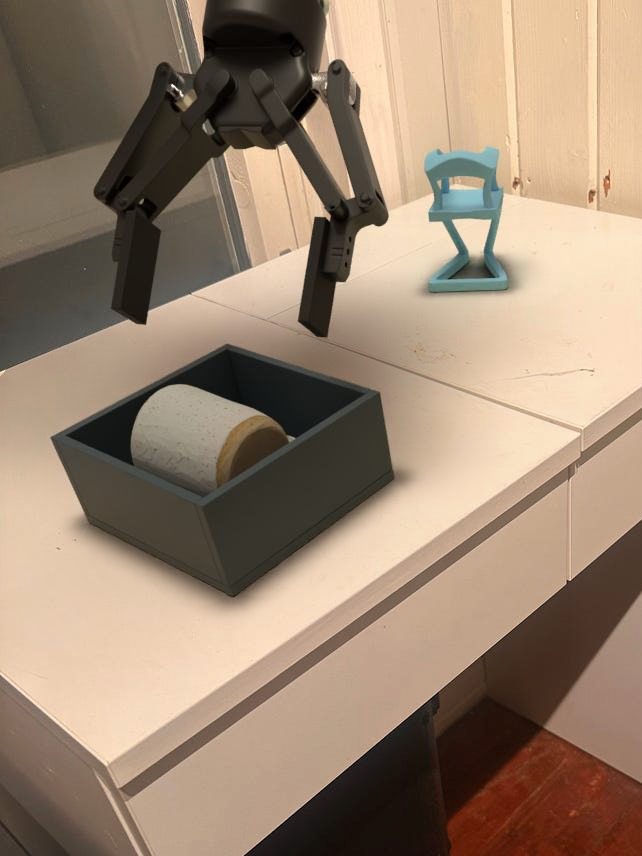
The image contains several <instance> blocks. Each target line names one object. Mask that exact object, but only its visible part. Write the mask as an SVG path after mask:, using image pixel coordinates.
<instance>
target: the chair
mask: <svg viewBox="0 0 642 856" xmlns="http://www.w3.org/2000/svg"><path fill="white" fill-rule="evenodd" d="M499 156H500V149H499V148H496V147H491V146H488V145H487V146H486V147H485V148H484V150H483V151H482V152H473V151H469V150H453V151H449V152H446V153H444V152H442V151H441V149H440V148H436V149H433V150H432V151H430V152H428V153H427V154H425V157H424V163H423V169H424V173H425V175H426V177H427V180H428V181H429V184H430V187H431V189H432V192H433V202H432V204H431V206H430V208H429V209H428V211H427V213H428V214H427V215H428V223H441V222H442V224H443V226H444V227H445V230H446V231H447V234H448V235H449V237H450V238H451V241H452V242H453V244H454V246H455V248H456V250H457V254H456V255H455V256H454V257H453V258H452V259H451V260H450V261H448V262H447V263H446V264H445V265H444V266H443V267H441V268H440V269H439V270H438V271H437V272H435V273H434V274H433V275H432V276H431V277H430V278H429V279H428V281H427V283H428V290H429V292H431V293H437V292H438V293H440V292H471V291H473V292H474V291H502V290H507V289H508V288H509V287H508V285H509V284H508V276H507V273H506V272H505V270H504V268H503V267H502V266H501V264H500V262H499V261H498V259H497V257H496V256H495V253H494V247H495V242H496V239H497V234H498V229H499V225H500V220H501V216H502V210H503V203H504V197H505V195H504V194H505V193H504V192H505V191H504V186H499V184H498V182H497V167H498V162H499ZM456 177H471V178H479V179H482V180H484V182H483V185H482V188H473V189H471V188H470V189H456V188H455V189H453V188H450V187H451V186H450V185H451V184H450V178H456ZM439 181H440V185H439V183H438V182H439ZM453 220H479V221H480V220H481V221H490V224H489V229H488V233H487V236H486V240H485V243H484V246H483V260H484V263H485V265H486V267H487V269H488V270H489V271H490V273H491V274H492V276H493V277H487V278H486V277H485V278H454V279H450V278H451V277H452V276H454V275H455V274H456V273H457V272H458V271H460V270H461V269H462V268H464V266H466V264H467V263H468V262H469V261H470V254H469V249H468V248H467V247H468V246H467V245H466V244H465V241H464V240H463V239H462V237H461V235H460V233H459V231H458V229H457V227H456V225H455V223H454V221H453Z"/></svg>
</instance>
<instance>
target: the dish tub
mask: <svg viewBox="0 0 642 856" xmlns="http://www.w3.org/2000/svg"><path fill="white" fill-rule="evenodd" d="M176 384H182V385H189V386H193V387H196V388H199V389H201V390H204V391H207V392H209V393H212V394H214V395H217V396H219V397H222V398H224V399H227V400H229V401H232V402H235V403H238V404H241V405H244V406H247V407H250V408H253V409H255V410H257V411H259V412H261V413H263V414H265V415H267V416H268V417H270V418H272V419H273V420H274V421H276V422H277V423H278V424H279V425H280V426H281V427H282V429H283V430H284V432H285V434H286V435H288V436H291V437H294V438H296V439H294V440H293V441H291V442H290V443H288V444H286V445H285V446H283V447H282V448H280V449H279V450H277V451H276V452H274V453H272V454H271V455H269V456H268V457H266V458H265V459H263V460H261V461H260V462H258V463H257V464H255V465H254V466H252V467H251V468H249V469H247V470H246V471H244V472H243V473H241V474H240V475H238V476H236V477H235V478H233V479H232V480H230V481H229V482H227V483H226V484H224V485H222V486H221V487H219V488H218V489H216V490H215V491H213V492H211V493H210V494H208V495H207V496H205V497H204V498H203V497H201V496H199V495H196V494H194V493H192V492H190V491H187V490H185V489H183V488H181V487H179V486H176V485H174V484H172V483H170V482H167V481H165V480H163V479H161V478H159V477H156V476H154V475H152V474H150V473H147V472H145V471H143V470H141V469H138V468H136V467H134V464H133V461H132V455H131V436H132V431H133V427H134V423H135V420H136V417H137V415H138V413H139V411H140V409H141V408H142V406H143V405H144V404H145V402H146V401H147V400H148V399H149V398H150V397H151V396H152V395H153V394H154V393H156V392H157V391H158V390H160V389H162V388H165V387H167V386H169V385H176ZM388 437H389V436H388V431H387V425H386V419H385V414H384V408H383V402H382V396H381V391H380V390H376V389H372V388H369V387H366V386H364V385H363V386H362V385H360V384H356V383H353V382H351V381H348V380H344V379H342V378H341V379H340V378H338V377H335V376H331V375H329V374H325V373H322V372H318V371H316V370H312V369H309V368H307V367H303V366H299V365H297V364H293V363H290V362H286V361H284V360H281V359H278V358H274V357H271V356H268V355H265V354H262V353H259V352H255V351H252V350H249V349H246V348H243V347H239V346H236V345H233V344H230V343H225V344H224V345H222V346H220V347H218V348H216V349H214V350H212V351H211V352H209V353H206V354H204V355H202V356H201V357H199V358H197V359H195V360H194V361H192V362H189V363H187V364H185V365H183V366H182V367H180V368H178V369H176V370H175V371H172V372H171V373H169V374H167V375H165V376H163V377H161V378H159V379H157V380H155V381H154V382H152V383H150V384H148V385H146V386H144V387H142V388H140V389H138V390H137V391H135V392H133V393H131V394H128V395H127V396H125V397H124V398H121V399H120V400H118V401H116V402H114V403H112V404H111V405H110V404H109V405H108V406H106V407H104V408H102V409H101V410H99V411H97V412H95V413H93V414H91V415H90V416H87V417H86V418H83V419H82V420H80V421H78V422H76V423H74V424H72V425H71V426H69V427H67V428H65V429H63V430H61V431H59V432H57V433H56V434H53V435H51V436H50V441H51V443H52V445H53V447H54V450H55V451H56V454H57V457H58V458H59V461H60V462H61V464H62V465H61V466H62V467H63V469H64V472H65V474H66V475H67V478H68V480H69V482H70V485H71V487H72V489H73V492H74V493H75V496H76V498H77V500H78V503H79V504H80V507H81V509H82V511H83V513H84V516H85V518H86V521H87V522H88V523H90V524H91V525H94V526H95V527H97V528H99V529H101V530H103V531H105V532H107V533H109V534H111V535H113V536H115V537H117V538H119V539H120V540H123V541H124V542H127V543H128V544H131V545H132V546H134V547H136V548H138V549H140V550H142V551H143V552H146V553H148V554H149V555H152V556H153V557H155V558H157V559H159V560H160V561H163V562H166V563H167V564H169V565H171V566H173V567H175V568H177V569H179V570H181V571H182V572H184V573H187V574H188V575H190V576H192V577H194V578H197V579H198V580H200V581H202V582H204V583H206V584H208V585H209V586H212V587H213V588H216V589H217V590H219V591H221V592H223V593H225V594H227V595H229V596H231V597H235V596H236V595H237V594H239V593H240V592H241V591H243V590H244V589H246V588H247V587H249V586H250V585H251V584H252V583H253V582H255V581H256V580H258V579H259V578H261V577H262V576H263V575H265V574H266V573H267V572H269V571H270V570H271V569H273V568H274V567H276V566H277V565H278V564H280V563H281V562H282V561H284V560H285V559H286V558H288V557H289V556H290V555H293V554H294V553H295V552H296V551H297V550H298V549H300V548H302V547H303V546H304V545H306V544H307V543H309V541H311V540H313V539H314V538H315V537H316V536H318V535H319V534H321V533H322V532H323V531H324V530H326V529H327V528H329V527H330V526H332V525H333V524H334V523H335V522H337V521H338V520H340V519H341V518H342V517H344V516H345V515H347V514H348V513H349V512H351V511H352V510H353V509H354V508H356V507H357V506H358V505H360V504H361V503H363V502H364V501H365V500H366V499H368V498H370V497H371V496H372V495H373V494H375V493H377V492H378V491H379V490H380V489H382V488H383V487H385V486H386V485H387V484H389V483H390V482H391V481H392V480H394V479H395V474H394V469H393V467H394V466H393V462H392V456H391V450H390V449H391V448H390V443H389V438H388Z"/></svg>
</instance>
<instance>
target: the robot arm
mask: <svg viewBox="0 0 642 856" xmlns="http://www.w3.org/2000/svg"><path fill="white" fill-rule="evenodd" d="M330 4H331V0H206V2H205V8H204V14H203V19H202V20H203V21H202V26H201V35H202V37H201V38H202V45H203V59H202V61H201V62H200V65H199V67H198V69H197V70H196V72H195V73H187V72H178V71H177V70H175V68H174V67H173V66H172V65H171V64H170V63H169V62H167V61H162V62H160V63H158V65H157V66H156V68H155V70H154V74H153V78H152V82H151V85H150V88H149V93H148V94H149V95H148V96H147V98H146V99H145V100H144V103H143V104H142V106H141V108H140V110H139V111H138V113H137V114H136V116H135V118H134V120H133V121H132V123H131V124H130V126H129V128H128V130H127V131H126V133H125V135H124V136H123V138H122V140H121V141H120V143H119V145H118V147H117V148H116V150H115V152H114V153H113V155H112V157H111V159H110V160H109V162H108V163H107V165H106V167H105V169H104V170H103V172H102V173H101V175H100V177H99V179H98V180H97V182H96V184H95V186H94V187H93V197H94V198H95V199H96V200H97V201H98V202H100V203H101V204H102V205H104V207H106V208H107V209H109V210H110V211H112V212H113V213H114V214H116V216H117V218H116V224H115V230H114V237H113V241H112V242H113V243H112V249H111V258H112V262H113V263H115V265H117V268H116V275H115V280H114V285H113V286H114V287H113V293H112V299H111V306H110V309H111V310H112V311H114V312H116V313H117V314H119V315H121V316H123V317H124V318H125V319H127V320H129V321H131V322H132V323H134V324H135V325H140V326H141V325H142V326H146V325H147V323H148V315H149V310H150V304H151V298H152V297H151V296H152V291H153V284H154V278H155V273H156V272H155V271H156V266H157V259H158V252H159V248H160V241H161V235H162V229H160V228H159V227H158V226H157V225H155V224H154V221H155V220H156V219H157V218H158V217H159V216H160V214H162V212H163V211H164V210H166V208H167V207H168V206H169V205H170V204H171V203H172V202H173V200H174V199H175V198H176V197H177V196H178V195H179V194H180V193H181V192H182V191H183V190H184V188H185V187H186V186H187V185H188V184H189V183H190V182H191V181H192V180H193V179H194V177H195V176H196V175H197V174H199V172H200V171H201V170H202V169H203V168H204V167H205V166H206V165H207V164H208V162H210V160H212V159H218V158H220V157H222V156H223V154H224V153H225V152H226V151H227V150H228V149H229V148H230V147H232V149H234V150H248V149H251V148H255V147H256V148H259V149H263V150H267V151H274V150H275V151H276V150H277V147H278V146H279V145H281V144H283V143H284V142H285V143H286V145H287V147H288V148H289V150H290V152H291V154H292V155H293V156H294V158H295V160H296V162H297V163H298V165H299V167H300V168H301V171H302V172H303V173H304V175H305V177H306V178H307V180H308V181H309V183H310V186H311V187H312V188H313V190H314V192H315V193H316V195H317V197H318V198H319V200H320V201H321V203H322V205H323V206H324V207H323V209H324V210H325V211H326V212H327V213H328V214H329V216H330V217H329V219H328V218H327V217H326V216H314V217H313V224H312V230H311V235H310V243H309V248H308V254H307V260H306V268H305V274H304V280H303V285H302V293H301V297H300V305H299V311H298V316H297V317H298V318H297V322H298V323H299V324H301V325H302V326H303V327H304V328H305V329H306V330H308V331H309V332H310V333H311V334H312V335H313V336H315V337H316V338H323V339H328V337H329V331H330V324H331V318H332V311H333V306H334V299H335V294H336V286H337V283H346V282H347V280H348V278H349V277H350V275H351V270H352V269H351V268H352V262H353V255H354V250H355V244H356V238H357V235H358V233H359V232H360V231H361V230H362V229H364V228H366V227H369V226H372V225H373V226H375V227H378V228H379V227H383V226H384V225H386V224H387V222H388V221H389V218H390V217H389V215H390V214H389V210H388V207H387V204H386V200H385V198H384V194H383V190H382V187H381V184H380V180H379V177H378V175H377V174H378V173H377V171H376V168H375V164H374V160H373V158H372V157H373V156H372V155H371V154H372V153H371V151H370V148H369V145H368V141H367V138H366V135H365V130H364V128H363V125H362V121H361V119H360V114H361V99H362V98H361V97H362V96H361V95H362V90H361V87H360V85H359V84H358V82H357V80H356V78H355V76H354V75H353V73H352V72H351V71H350V69H349V68H348V66H347V65H346V62H345V61H344V60H342V59H339V58H337V59H334V60H332V61H331V62H330V63H329V64H328V66H327V71H320V69H321V64H322V63H321V62H322V57H323V51H324V45H325V38H326V31H327V27H328V24H327V16H328V14H329V9H330ZM319 99H320V100H321V102H322V103H323V104H324V106H325V107H326V108H327V110H328V111H329V114H330V118H331V121H332V124H333V125H332V126H333V127H334V132H335V135H336V139H337V141H338V145H339V148H340V151H341V155H342V158H343V161H344V165H345V168H346V172H347V175H348V178H349V182H350V186H351V188H352V191H353V195H354V197H351V198H348V199H347V197H346V195H345V194H344V192H343V191H342V189H341V187H340V185H339V184H338V182H337V181H336V179H335V177H334V175H333V174H332V173H331V171H330V169H329V167H328V166H327V164H326V162H325V161H324V159H323V157H322V156H321V155H320V152H319V151H318V149H317V148H316V147H317V146H316V145H315V143H314V142H313V140H312V139H311V137H310V135H309V133H308V132H307V130H306V128H305V127H304V126H303V124H302V121H303V120H304V119H305V118H306V117H307V115H308V114H309V113H310V112H311V110H312V109H313V108H314V107H315V106H316V104H317V102H318V101H319ZM206 121H208V123H209V125H210V127H211V129H212V130H213V131H214V132H213V133H211V134H209V133H208V132H207V131H206V130H205V129H204V128H203V126H204V124H205V123H206ZM142 200H143V201H142ZM141 201H142V203H140V202H141Z"/></svg>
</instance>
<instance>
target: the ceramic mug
mask: <svg viewBox="0 0 642 856" xmlns="http://www.w3.org/2000/svg"><path fill="white" fill-rule="evenodd" d="M294 439H296V438H294V437H291V436H288V435H286V434H285V432H284V430H283V429H282V427H281V426H280V425H279V424H278V423H277V422H276V421H274V420H273V419H272V418H270V417H268V416H267V415H265V414H263V413H261V412H259V411H257V410H255V409H253V408H250V407H247V406H244V405H241V404H238V403H235V402H232V401H229V400H227V399H224V398H222V397H219V396H217V395H214V394H212V393H209V392H207V391H204V390H201V389H199V388H196V387H193V386H189V385H182V384H176V385H169V386H167V387H165V388H162V389H160V390H158V391H157V392H156V393H154V394H153V395H152V396H151V397H150V398H149V399H148V400H147V401H146V402H145V404H144V405H143V406H142V408H141V409H140V411H139V413H138V415H137V417H136V420H135V423H134V427H133V431H132V436H131V455H132V461H133V464H134V467H136V468H138V469H141V470H143V471H145V472H147V473H150V474H152V475H154V476H156V477H159V478H161V479H163V480H165V481H167V482H170V483H172V484H174V485H176V486H179V487H181V488H183V489H185V490H187V491H190V492H192V493H194V494H196V495H199V496H201V497H203V498H204V497H205V496H207V495H208V494H210V493H211V492H213V491H215V490H216V489H218V488H219V487H221V486H222V485H224V484H226V483H227V482H229V481H230V480H232V479H233V478H235V477H236V476H238V475H240V474H241V473H243V472H244V471H246V470H247V469H249V468H251V467H252V466H254V465H255V464H257V463H258V462H260V461H261V460H263V459H265V458H266V457H268V456H269V455H271V454H272V453H274V452H276V451H277V450H279V449H280V448H282V447H283V446H285V445H286V444H288V443H290V442H291V441H293V440H294Z"/></svg>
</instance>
